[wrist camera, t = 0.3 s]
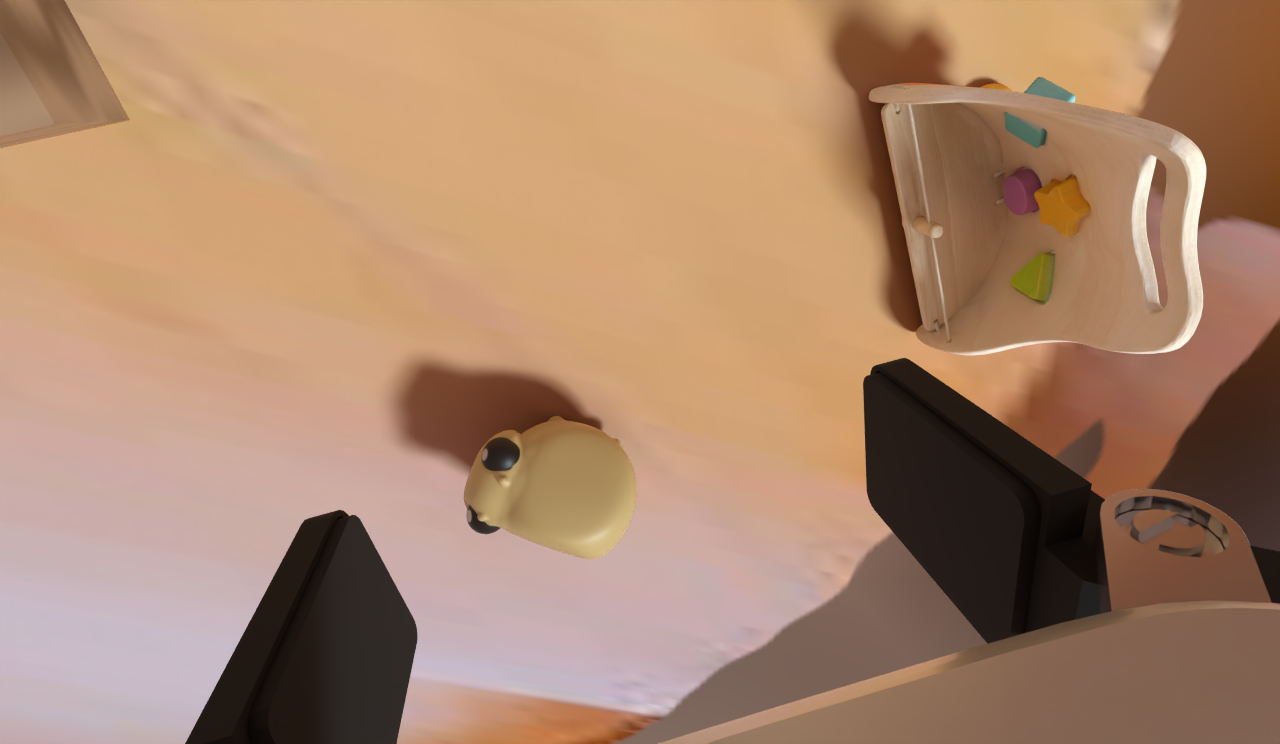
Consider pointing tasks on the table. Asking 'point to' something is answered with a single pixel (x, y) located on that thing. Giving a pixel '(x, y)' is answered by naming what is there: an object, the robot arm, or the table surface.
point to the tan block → (49, 75)
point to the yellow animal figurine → (554, 487)
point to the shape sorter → (1041, 219)
